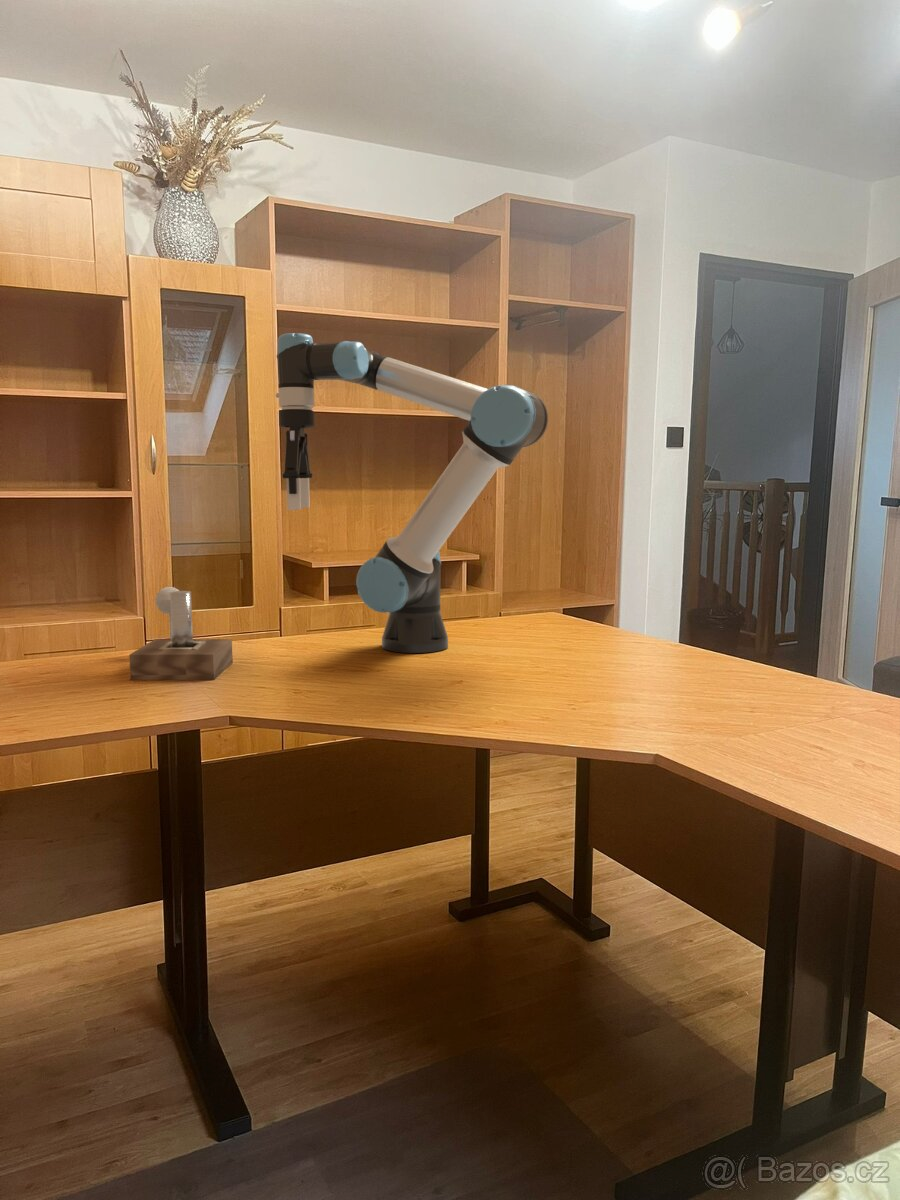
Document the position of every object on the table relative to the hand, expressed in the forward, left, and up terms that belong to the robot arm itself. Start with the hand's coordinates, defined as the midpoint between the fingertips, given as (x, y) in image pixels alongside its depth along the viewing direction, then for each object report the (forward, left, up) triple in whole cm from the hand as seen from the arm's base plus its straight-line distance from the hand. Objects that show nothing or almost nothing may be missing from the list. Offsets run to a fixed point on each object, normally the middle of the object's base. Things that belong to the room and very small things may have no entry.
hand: (298, 508), depth 196 cm
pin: (+21, +19, -31) cm, 42 cm away
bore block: (+21, +19, -32) cm, 43 cm away
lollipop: (+28, +3, -32) cm, 43 cm away
